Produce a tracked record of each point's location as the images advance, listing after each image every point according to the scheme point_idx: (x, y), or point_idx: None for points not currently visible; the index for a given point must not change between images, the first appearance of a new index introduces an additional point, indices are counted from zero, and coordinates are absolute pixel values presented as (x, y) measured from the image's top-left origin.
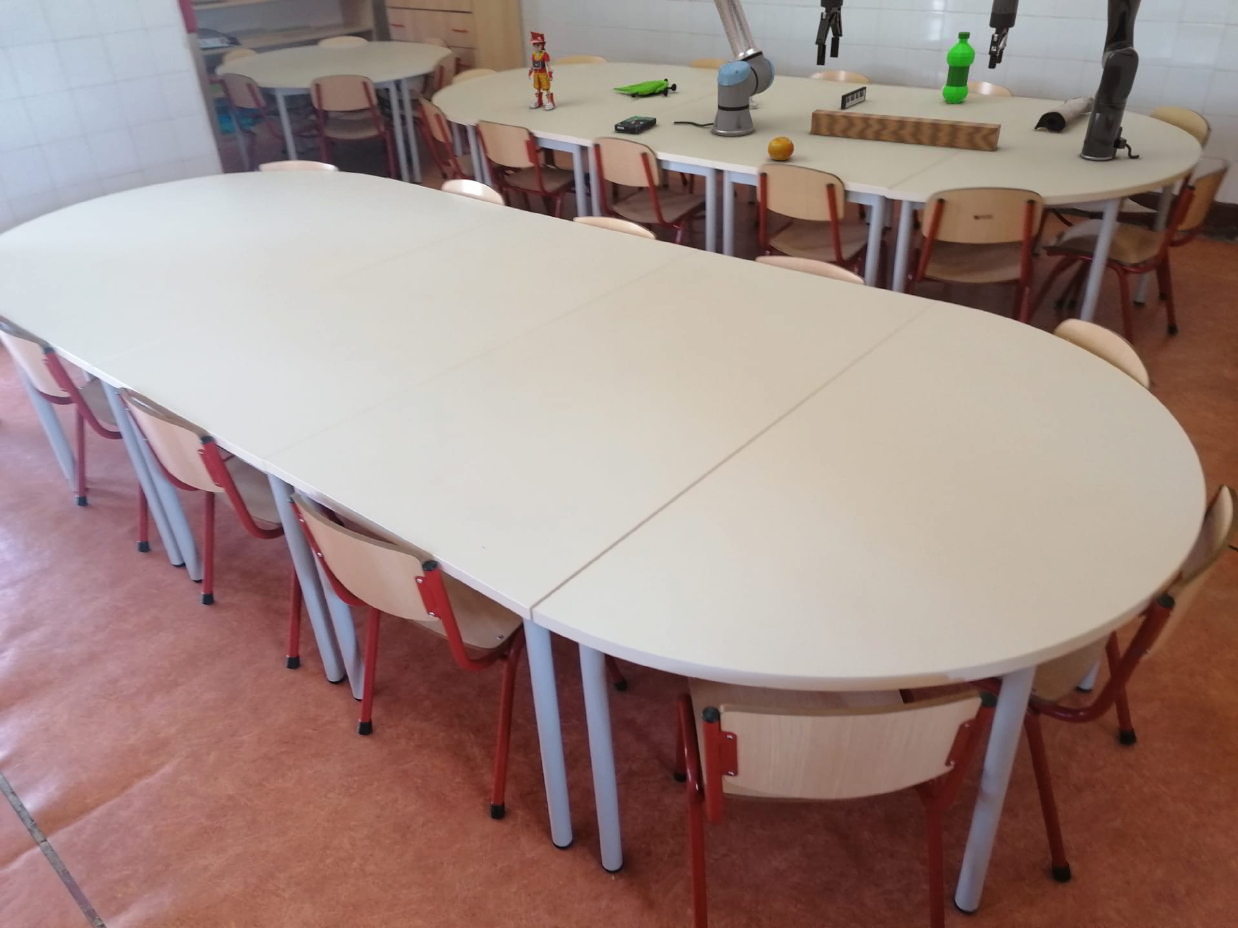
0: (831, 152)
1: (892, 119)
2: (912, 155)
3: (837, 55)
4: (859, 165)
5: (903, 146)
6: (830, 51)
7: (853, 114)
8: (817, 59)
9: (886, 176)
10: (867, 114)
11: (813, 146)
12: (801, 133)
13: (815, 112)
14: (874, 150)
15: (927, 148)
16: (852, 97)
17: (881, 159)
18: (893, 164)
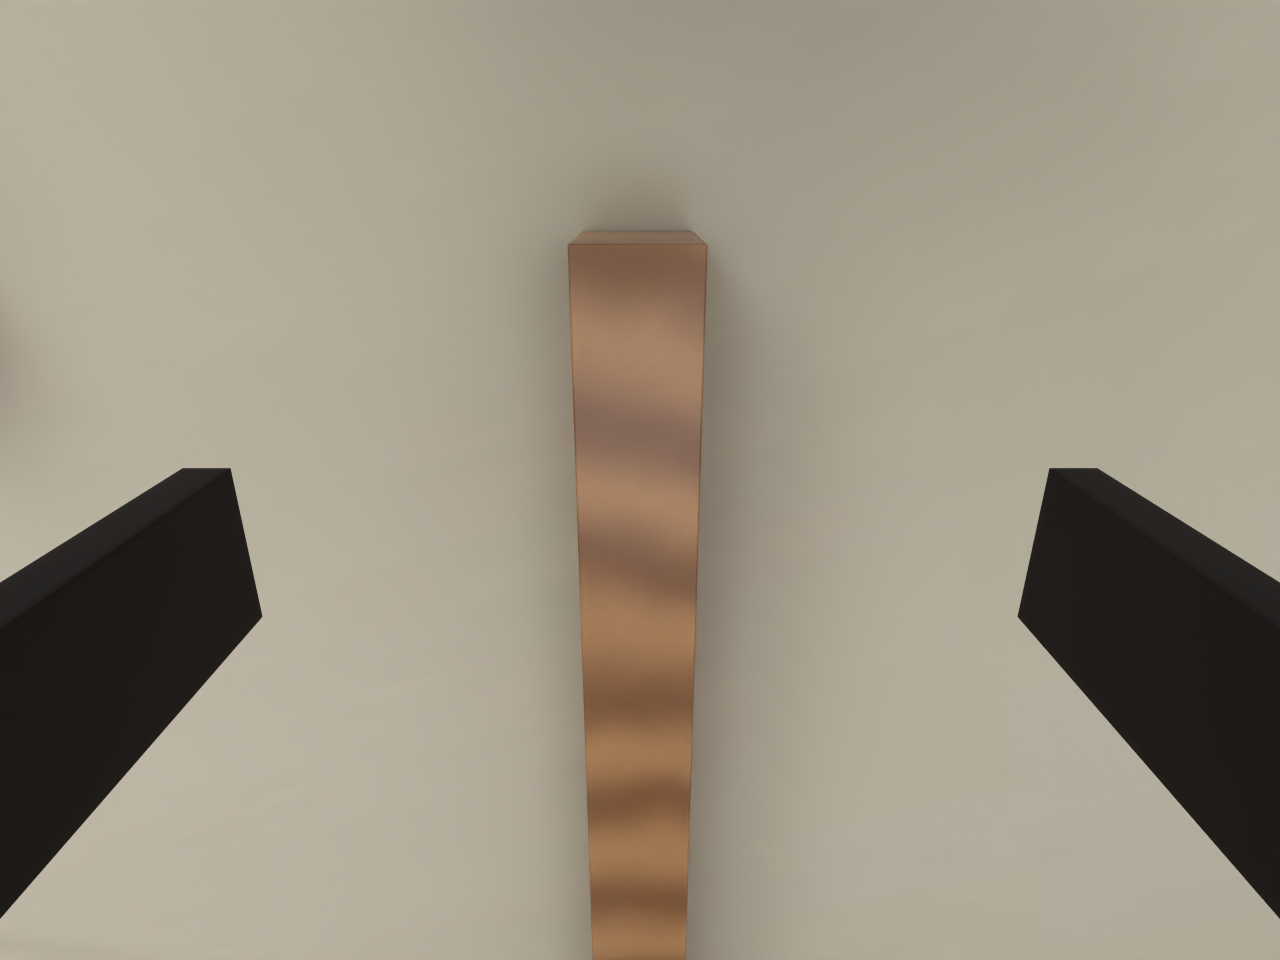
0: None
1: (589, 855)
2: (395, 891)
3: (1041, 643)
4: None
5: (534, 825)
6: (1133, 519)
7: (629, 602)
8: (109, 530)
9: None
10: (666, 690)
11: (289, 372)
12: (581, 146)
13: (587, 275)
14: (392, 725)
15: (545, 918)
16: None
17: (251, 795)
18: (204, 858)
